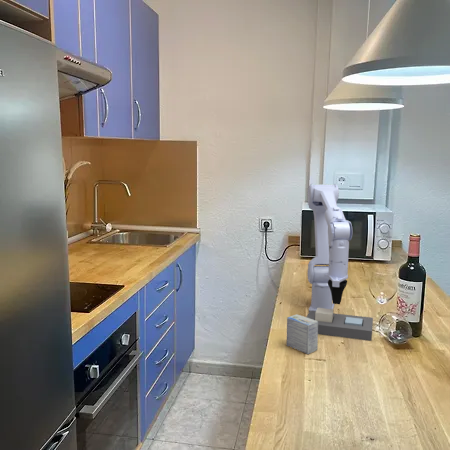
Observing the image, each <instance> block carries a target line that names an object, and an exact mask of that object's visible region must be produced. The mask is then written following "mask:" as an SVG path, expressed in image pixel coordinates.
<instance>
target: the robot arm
mask: <svg viewBox="0 0 450 450" xmlns="http://www.w3.org/2000/svg"><path fill="white" fill-rule="evenodd" d="M339 189H340V188H339V186H338V184H337V183H333V184H327V183H326V184H322V183H321V184H320V183H319V184H316V183H315V184H313V183H310V184H309V185H308V188H307V205H308V209H310V210H311V211H313V212H312V213H313V220H314V244H315V246H314V247H315V249H314V250H315V256H314V257H313V258H312V259H311V260H309V262H308V263H307V280H308V282H309V284H311V300H310V301H311V303H310V305H309V307H308V312H309V311H316V310H317V308H325V309H333V310H334V307H335V305H340V304H341V301H342V298H343V293H344V290H345V288H346V287H347V285H348V280H347V279H348V278H349V273H348V271H349V251H350V250H349V249H350V241H352V238H353V226H352V222H351V221H349V220H347V219H346V217H345V215H344V212H343V209H342V208H341V207H339V206H338V205H337V201H338V199H339V196H340V195H339V194H340V191H339Z"/></svg>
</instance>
